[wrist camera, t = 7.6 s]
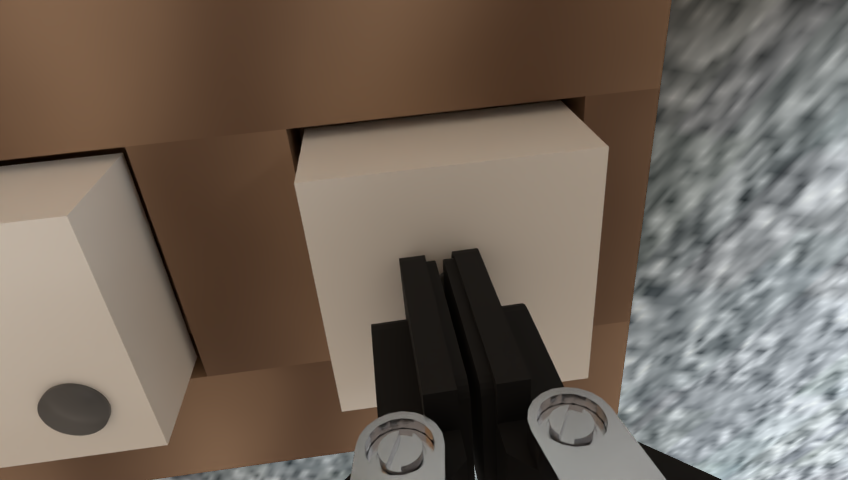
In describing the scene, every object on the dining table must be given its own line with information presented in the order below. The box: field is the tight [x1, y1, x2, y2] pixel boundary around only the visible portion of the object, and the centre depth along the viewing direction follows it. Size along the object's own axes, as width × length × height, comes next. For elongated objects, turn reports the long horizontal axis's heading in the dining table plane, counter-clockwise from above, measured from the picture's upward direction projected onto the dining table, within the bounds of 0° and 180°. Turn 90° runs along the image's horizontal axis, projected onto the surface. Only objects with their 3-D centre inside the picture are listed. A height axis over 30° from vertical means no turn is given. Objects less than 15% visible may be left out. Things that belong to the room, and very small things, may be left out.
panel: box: [0, 0, 672, 480], centre depth 15 cm, size 30×14×3 cm, turn 94°
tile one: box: [294, 100, 609, 412], centre depth 14 cm, size 6×6×3 cm
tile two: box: [0, 153, 197, 468], centre depth 13 cm, size 6×6×3 cm
